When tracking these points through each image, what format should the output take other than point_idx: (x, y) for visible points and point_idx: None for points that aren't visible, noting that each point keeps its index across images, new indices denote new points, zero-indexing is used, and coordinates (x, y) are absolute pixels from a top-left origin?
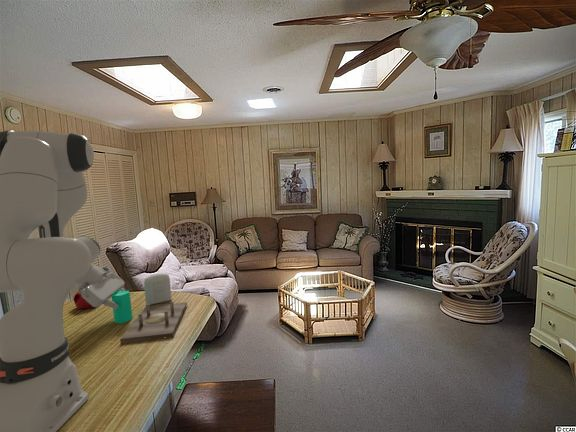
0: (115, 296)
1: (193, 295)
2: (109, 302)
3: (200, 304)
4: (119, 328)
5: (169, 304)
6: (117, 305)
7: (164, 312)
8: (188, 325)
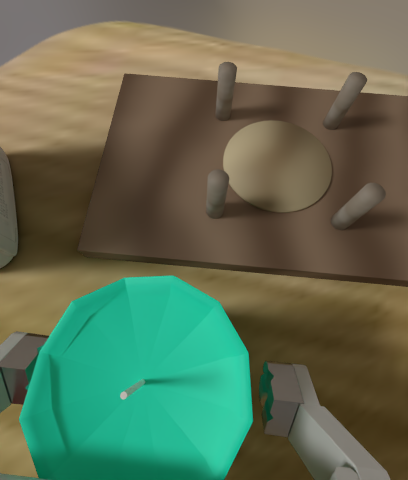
0: (246, 424)
1: (5, 72)
2: (366, 460)
3: (138, 48)
4: (293, 348)
5: (112, 136)
6: (303, 367)
7: (363, 85)
8: (329, 76)
